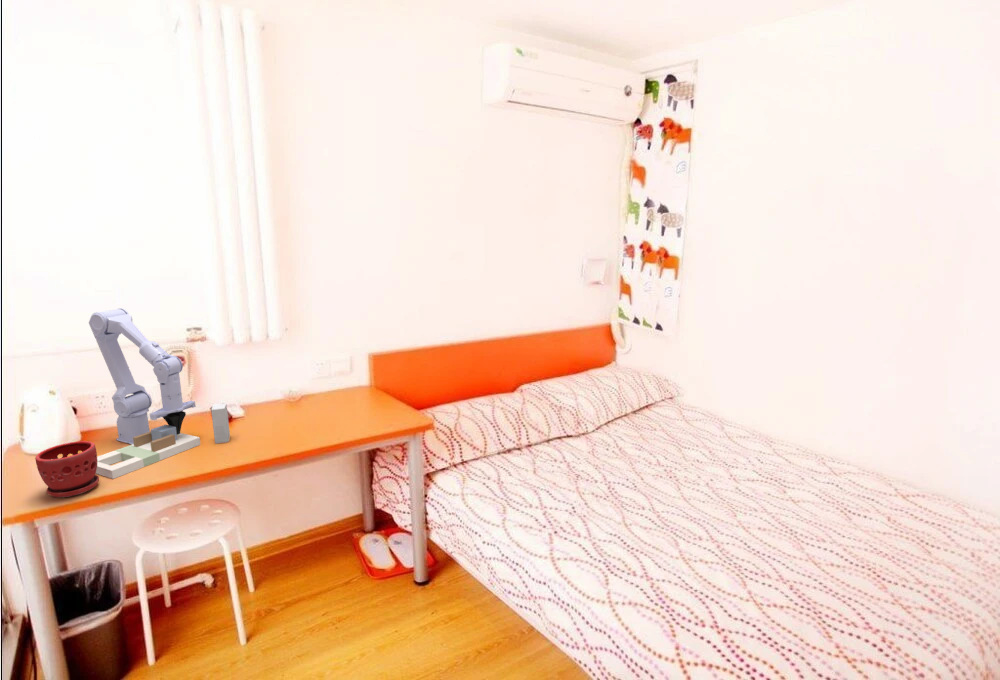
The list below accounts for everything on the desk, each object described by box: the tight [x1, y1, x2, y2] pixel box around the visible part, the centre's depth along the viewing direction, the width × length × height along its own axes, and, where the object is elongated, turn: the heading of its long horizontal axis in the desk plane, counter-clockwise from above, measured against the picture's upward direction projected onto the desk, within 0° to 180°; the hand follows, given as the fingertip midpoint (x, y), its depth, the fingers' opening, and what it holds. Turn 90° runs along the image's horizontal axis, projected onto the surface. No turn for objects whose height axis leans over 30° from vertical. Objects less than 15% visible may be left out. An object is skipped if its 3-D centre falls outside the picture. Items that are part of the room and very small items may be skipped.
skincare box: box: [211, 402, 231, 444], centre depth 190 cm, size 6×4×12 cm
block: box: [150, 424, 177, 441], centre depth 183 cm, size 5×5×4 cm
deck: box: [95, 430, 202, 480], centre depth 177 cm, size 14×28×6 cm, turn 155°
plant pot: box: [34, 440, 100, 498], centre depth 155 cm, size 13×13×12 cm
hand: (176, 433), depth 187 cm, fingers closed
